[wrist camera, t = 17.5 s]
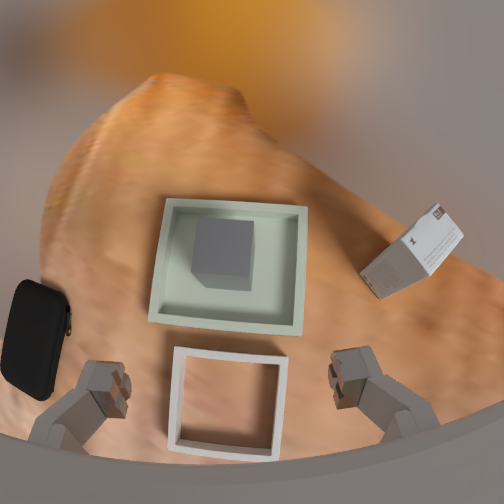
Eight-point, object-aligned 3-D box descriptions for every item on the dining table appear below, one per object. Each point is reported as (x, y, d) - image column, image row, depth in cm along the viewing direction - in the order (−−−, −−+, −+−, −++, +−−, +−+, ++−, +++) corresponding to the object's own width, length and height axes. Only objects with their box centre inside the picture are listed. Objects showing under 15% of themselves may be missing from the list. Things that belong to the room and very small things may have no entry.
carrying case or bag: (61, 408, 32) (84, 300, 36) (48, 411, 29) (72, 296, 33) (7, 375, 33) (27, 278, 37) (-7, 376, 30) (14, 273, 34)
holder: (173, 443, 31) (167, 450, 29) (180, 346, 34) (174, 346, 32) (277, 455, 30) (278, 462, 28) (286, 356, 34) (288, 357, 31)
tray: (154, 323, 35) (147, 321, 32) (171, 206, 39) (166, 198, 36) (299, 336, 34) (302, 336, 32) (304, 215, 38) (307, 206, 36)
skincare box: (380, 302, 35) (430, 282, 23) (356, 272, 36) (397, 239, 24) (413, 269, 36) (468, 238, 24) (391, 240, 37) (437, 199, 25)
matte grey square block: (205, 287, 35) (190, 271, 28) (210, 243, 37) (198, 217, 29) (251, 291, 35) (249, 276, 27) (255, 247, 36) (254, 220, 29)
